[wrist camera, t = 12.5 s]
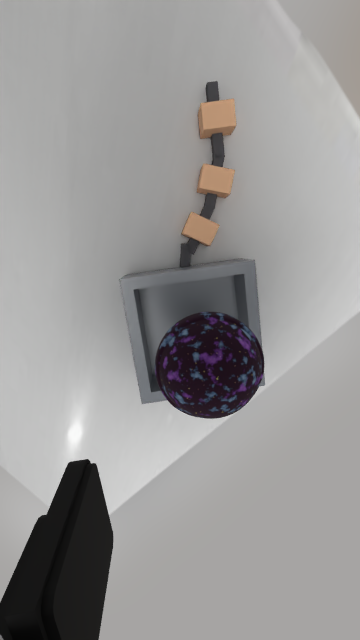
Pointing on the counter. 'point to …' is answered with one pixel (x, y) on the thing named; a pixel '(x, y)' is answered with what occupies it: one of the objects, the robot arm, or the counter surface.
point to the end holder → (184, 307)
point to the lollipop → (209, 365)
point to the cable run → (210, 170)
